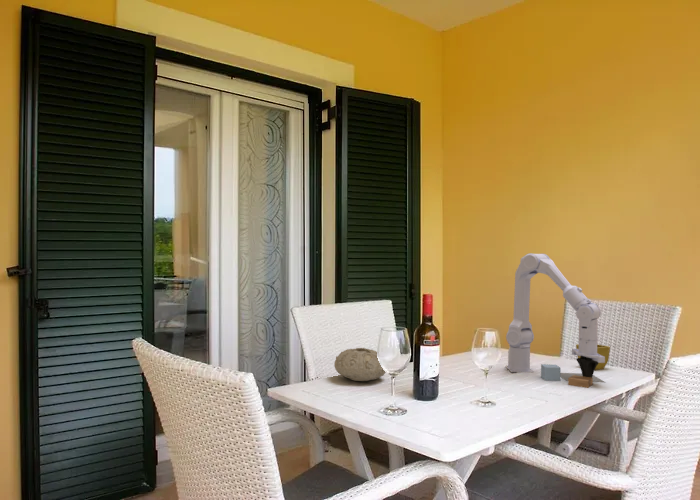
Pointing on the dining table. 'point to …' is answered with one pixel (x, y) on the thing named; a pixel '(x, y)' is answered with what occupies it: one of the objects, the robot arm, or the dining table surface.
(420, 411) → the dining table surface
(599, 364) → the flower pot
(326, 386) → the dining table surface
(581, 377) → the walnut block
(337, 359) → the grey rounded lump
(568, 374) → the letter mat
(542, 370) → the blue cube
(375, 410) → the dining table surface
